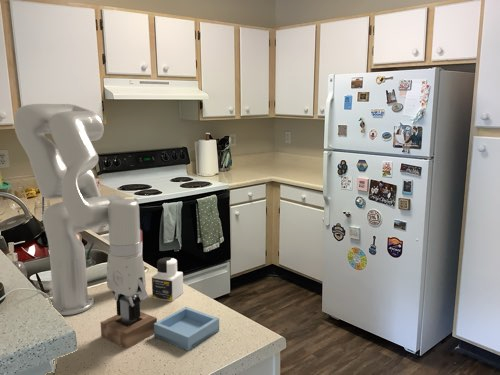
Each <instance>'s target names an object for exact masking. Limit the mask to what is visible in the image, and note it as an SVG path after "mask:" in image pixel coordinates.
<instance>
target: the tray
mask: <svg viewBox="0 0 500 375" xmlns="http://www.w3.org/2000/svg"><path fill="white" fill-rule="evenodd" d="M218 332H220V318H218V317H216V316H214V315H210V314H208V313H205V312H203V311H202V312H201V311H199V310H196V309H193V308H190V307H187V306H184V307H182V308H181V309H179V310H177V311H175V312H173V313H172V314H169V315H167V316H166V317H164V318H162V319H160V320H157V322H156V323H154V334H153V337H155V338H157V339H160V340H161V341H162V340H163V341H164V342H167V343H169V344H171V345H174V346H176V347H178V348H181V349H183V350H186V351H187V352H189V351H190V350H192V349H194V348H195V347H197V346H198V345H200V344H201V343H203V342H205V341H206V340H208V339H209V338H210V337H212V336H213V335H215V334H216V333H218Z"/></svg>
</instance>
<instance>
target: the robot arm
mask: <svg viewBox="0 0 500 375" xmlns="http://www.w3.org/2000/svg"><path fill="white" fill-rule="evenodd" d="M13 127H14V132H15V135H16V138H17V140H18V142H19V143H20V145H21V146H22V148H23V150H24V152H25V153H26V155H27V157H28V159H29V163H30V166H31V170H32V172H33V176H34V178H35V181H36V184H37V188H38V190H39V193H40V195H41V196H42V197H43V198H44V199H46V200H57V199H62V201H61V202H56V203H52V204H51V205H49V206H47V208H45V210H44V211H43V213H42V223H43V227H44V232H45V234H46V238H47V244H48V252H49V264H50V274H51V275H50V276H51V287H52V288H51V289H50V290H49V293H48V294H50V295H51V296H52V300H51V301H50V302H52V305H53V307H54V308H55V309H56V310H57V311H58V312H59V313H60V314H61V315H60V316H72V315H76V314H81V313H83V312H85V311H88V310H89V309H91V308H92V306H94V303H95V302H94V297H93V296H91V295H90V294H88V293H89V292H88V277H87V264H86V262H87V261H86V250H85V246H84V243H83V242H82V241H81V240H80V238H78V237H77V235H76V234H77V233H81V232H85V231H89V230H93V229H96V228H99V227H102V226H106V225H108V239H109V240H108V242H109V252H108V256H107V264H106V286H107V288H108V290H110V291H111V292H112V293H113V295H114V300H115V301H116V315H118V316H120V315H121V313H120V298H121V297H123V296H128V297H129V300H130V306H129V320H131V321H132V320H134V319H136V318H138V317H140V312H141V303H142V302H143V300H145V299H146V298H147V299H148V296H149V295H148V292H147V290H146V286H147V284H146V283H147V282H146V272H145V271H146V270H145V264H144V260H143V253H142V254H141V243H140V229H141V222H140V219H141V218H140V205H139V202H138V201H136V200H135V199H133V198H125V197H123V196H121V195H120V194H117V193H115V194H114V193H112V194H111V193H110V194H105V195H101V192H100V188H99V185H98V183H97V179H96V177H95V175H94V173H93V171H92V170H93V169H94V168H95V167H96V165H97V164H98V163H99V160H100V159H99V155H98V153H97V151H96V149H95V147H94V146H93V143H92V142H95V141H98V140H100V139H101V138H103V134H104V132H105V130H104V128H105V126H104V124H103V121H102V119H101V117H100V116H99V115H98V114H97V113H96V112H94V111H93V110H90V109H88V108H84V107H81V106H79V105H76V104H69V103H35V104H34V103H31V104H26V105H23V106H21V107H19V108H18V109H17V110H16V111H15V113H14V117H13ZM46 134H47V135H48V134H50V135H51V137H52V139H53V141H54V142H53V141H52V140H50V139H49V138H48V137H46ZM134 296H135V297H136V298H135V299H134Z"/></svg>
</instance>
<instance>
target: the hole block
mask: <svg viewBox="0 0 500 375" xmlns="http://www.w3.org/2000/svg"><path fill="white" fill-rule="evenodd" d="M156 322H158V320H157V317H156V316H153V315H151V314H147V313H145V312H142V311H140V317H138V318H137V322H136V323H134V324H132V325H130V326H128V327H127V326H124V325H122V324H121V315H120V316H118V315H117V314H115V315H113V316H112V317H109V318H106V319H104V320H103V321H100V335H101V336H100V337H101V338H104V339H106V340H107V341H110V342H112V343H114V344H116V345H118V346H121V347H123V348H125V349H129V348H131V347H132V346H134V345H136V344H138V343H140V342H142V341H144V340H145V339H148V337H151V336H152V335H153V336H154V323H156Z"/></svg>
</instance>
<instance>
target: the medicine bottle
mask: <svg viewBox="0 0 500 375" xmlns="http://www.w3.org/2000/svg"><path fill="white" fill-rule="evenodd" d="M156 262H157V263H156V265H157V266H156V267H157V273H156V274H154V275H153V276H151V287H152V288H151V289H152V290H151V291H152V294H151V295H152V299H155V300H161V301H166V302H174V301H175V300H176V299H177V298H178V297H180V296H181V295H183V293H184V273H183V271H178V260H177V259H176V258H174V257H163V258H159V259H158V260H157V261H156Z"/></svg>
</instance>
